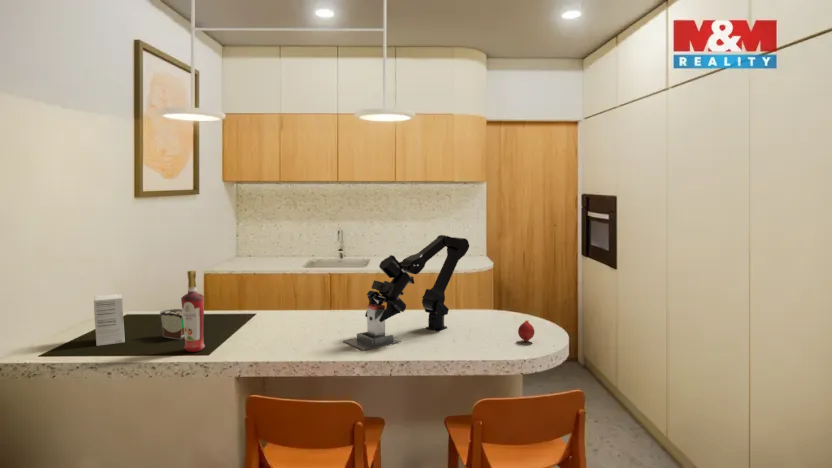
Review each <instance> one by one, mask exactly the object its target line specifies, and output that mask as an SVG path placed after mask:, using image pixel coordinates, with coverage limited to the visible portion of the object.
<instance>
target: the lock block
mask: <svg viewBox="0 0 832 468" xmlns="http://www.w3.org/2000/svg"><path fill="white" fill-rule="evenodd" d="M385 309H386V305H384V304H381V305H380V304H371V305H369V304H367V305H366V311H367V317H366V319H367V320H366V321H367V322H366V323H367V324H366V326H367V329H366V330H367V331H366V332H367V336H368V337H370V338H373V339H374V338H378V337H383V336H386V320H384V321H383V322H380V321H379V319H380V317H381V316H382V314H383V312H384V311H385Z"/></svg>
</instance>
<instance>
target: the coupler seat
mask: <svg viewBox="0 0 832 468" xmlns="http://www.w3.org/2000/svg"><path fill="white" fill-rule="evenodd" d="M342 342H343V343H345V344H348V345H349V346H352V347H354V348H356V349H359V350H361V351H363V352H364V351H368V350H373V349H377V348H382V346H383V347H386V345H387V346H391V345H390V344H392V345H395V343H396V344H400V343H399V342H401V341H400V340H399V339H395V338H394V335H392V334H388V335H385V336H383V337H378V338H374V339H373V338H370V337H368V336H367V331H364V332H359V333H356V337H355V338H351V339H350V338H349V339H345V340H343V341H342Z"/></svg>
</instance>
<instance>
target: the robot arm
mask: <svg viewBox="0 0 832 468" xmlns="http://www.w3.org/2000/svg"><path fill="white" fill-rule="evenodd" d="M445 247H446V257H445V260H444V262H443V264H442V267H441V269H440V271H439V274H438V275H437V278H436V279H435V282H434V284H433V286H432V287H431V288H430V289H429V288H426V289H425V291H424V294H423V296H421V298H422V299H421V304H422V307H423V309H424V311H425V313H428V320H427V321H428V326H426V327H425V329H427V330H432V331H436V332H439V331H442V330H445V329H448V326H445V316H446V315H448V314H449V308H448V307H447V306H446V305H445V301H446V296H445V295H446V294H445V292H446V289H447V287H448V285H449V283H450V281H451V278H452V276H453V274H454V271H455V270H456V269H455V268H456V267H457V265H458V263H459V261H460V260H461V259H462V258H463V257H464V256H465V255H466V254H467V252H468V250H469V249H470V244H469V241H468V239H467V238H464V237H452V236H449V235H445V234H439V235H437V237H436V238H435V239H434V240H433V241H431V242H430V243H429V244H428V245H426V246H425V247H424V248H422V249H421V250H420V251H419V252H417V253H415V254H412V255H408V256H407V257H405V258H403V260H402V261H398V260H397V258H396V256H395V255H392V254H390V255H389V256H388V257H386V258H384V259H383V260H381V262H380V263H379V266H378V267H379V269H380V270H381V271H382V272H383V273H384V274H385V275H386V276H387V278H389V279H391V280H390V281H387V280H384V281H383V282H381V281H379V280H373V282H372V285H371V289H372V290H371V289H370V290H369V291H368V292H367V293H366V296H367V299H368V305H371V304H380V305H384V303H385V304H386V306H385V311H384V312H383V314H382V316H381V317H380V319H379V321H380V322H383V321H384V320H385V321H386V320H388V319H390V318H391V317H393V316H395V315H397V314H401V313H404V311H406V309H407V304H406V303H405V302H404V301H403V300H402V298H400V296H403V295H405V294H404V292H403V291H404V290H405V289H406V288H407V286H408V284H412V285H414V284H415V280H414V276H412V275H409V274H413V275H418V274H419V273H421V271H422V270H423V269H424V268H425V266H426V263H427V262H428V261H429V260H431V259H432V258H433V257H434V256H435V255H437V254H438V253H439V252H441V251H442V250H443V249H444V248H445ZM364 316H365V318H367V310H366V312H365V314H364Z"/></svg>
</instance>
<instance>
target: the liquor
mask: <svg viewBox="0 0 832 468" xmlns="http://www.w3.org/2000/svg"><path fill="white" fill-rule="evenodd" d="M186 274H187V279H188V281H187V293H186V294H184V295H183V296H182V297H181V298H180V299H181V309H182V314H183V322H184V334H185V338H184V347H183V349H184V350H185V351H186V352H188V353H197V352H198V353H199V352H201V351H202V350H203V349H204V348H205V347H206V345H205V341H204V339H205V337H204V316H205V315H204V314H205V307H204V306H205V296H204V295H202V293H199V292H198V291H197V289H198V288H197V283H196V277H197V272H196V270H187V273H186Z"/></svg>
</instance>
